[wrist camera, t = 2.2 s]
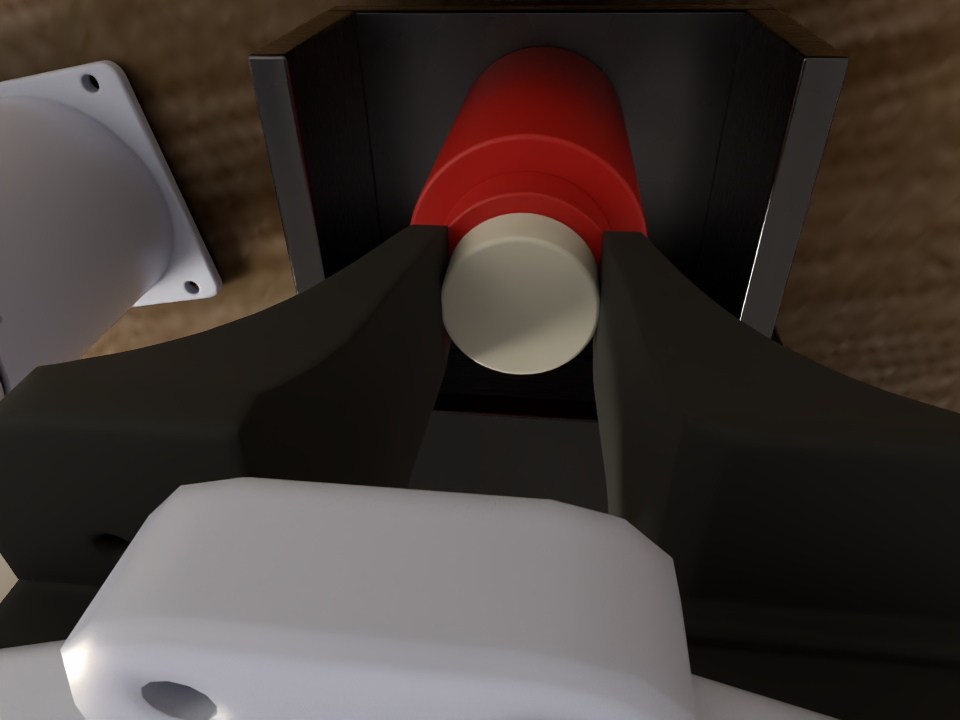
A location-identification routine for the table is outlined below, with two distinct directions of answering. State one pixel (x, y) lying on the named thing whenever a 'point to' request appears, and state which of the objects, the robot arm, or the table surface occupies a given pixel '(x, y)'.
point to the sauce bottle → (530, 208)
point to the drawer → (648, 118)
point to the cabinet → (515, 448)
